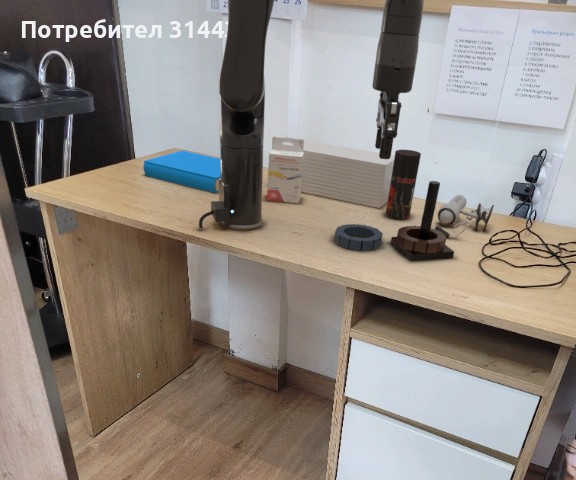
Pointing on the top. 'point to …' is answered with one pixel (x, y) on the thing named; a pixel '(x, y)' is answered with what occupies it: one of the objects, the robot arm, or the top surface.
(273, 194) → the ink cartridge box
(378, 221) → the top surface
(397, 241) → the walnut ring
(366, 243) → the slate ring
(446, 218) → the clip-on lamp
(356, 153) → the light grey ridged block
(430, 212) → the stand
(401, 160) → the deodorant
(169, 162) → the book
